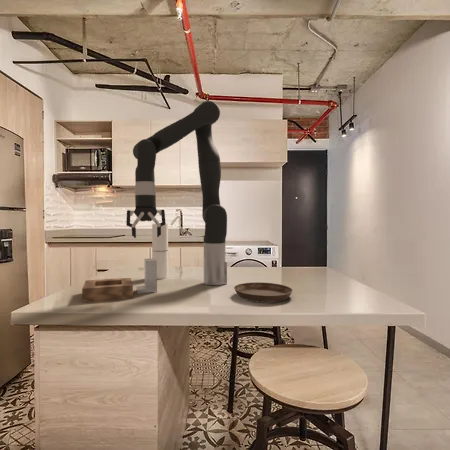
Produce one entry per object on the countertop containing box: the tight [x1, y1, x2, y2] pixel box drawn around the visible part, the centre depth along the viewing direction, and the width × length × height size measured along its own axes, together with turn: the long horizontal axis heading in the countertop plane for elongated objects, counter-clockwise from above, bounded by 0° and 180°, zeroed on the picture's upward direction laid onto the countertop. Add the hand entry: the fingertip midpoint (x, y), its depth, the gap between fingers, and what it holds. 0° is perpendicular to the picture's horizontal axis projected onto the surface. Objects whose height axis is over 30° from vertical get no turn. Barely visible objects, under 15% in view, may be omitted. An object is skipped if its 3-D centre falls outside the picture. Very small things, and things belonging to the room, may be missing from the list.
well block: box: [81, 277, 134, 303], centre depth 113 cm, size 16×14×4 cm
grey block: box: [136, 258, 158, 294], centre depth 119 cm, size 7×6×12 cm
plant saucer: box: [233, 282, 294, 303], centre depth 112 cm, size 21×21×3 cm
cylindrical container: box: [151, 222, 169, 280], centre depth 146 cm, size 7×7×25 cm
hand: (146, 237), depth 119 cm, fingers open, 8 cm apart
